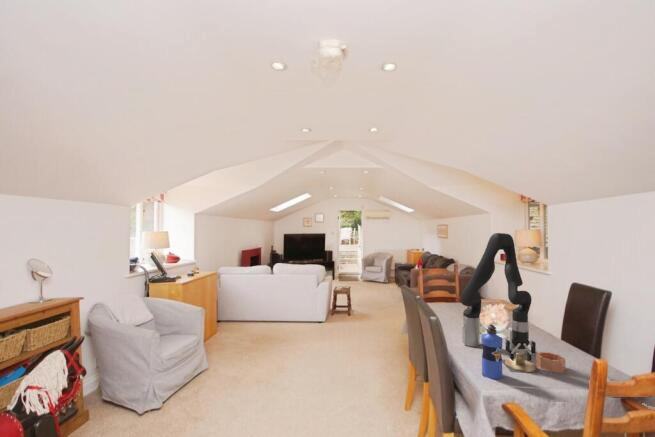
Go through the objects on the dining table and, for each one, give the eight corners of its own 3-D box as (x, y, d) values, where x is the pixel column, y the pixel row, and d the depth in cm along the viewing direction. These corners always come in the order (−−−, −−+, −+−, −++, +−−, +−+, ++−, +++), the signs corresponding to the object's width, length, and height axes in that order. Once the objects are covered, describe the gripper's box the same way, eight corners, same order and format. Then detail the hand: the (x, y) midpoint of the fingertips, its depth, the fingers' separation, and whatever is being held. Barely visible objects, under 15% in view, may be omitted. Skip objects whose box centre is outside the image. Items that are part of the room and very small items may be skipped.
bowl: (544, 372, 166) (543, 360, 166) (532, 362, 178) (532, 351, 178) (569, 373, 165) (569, 361, 165) (556, 363, 176) (556, 352, 176)
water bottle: (477, 373, 165) (477, 323, 166) (490, 370, 169) (490, 321, 169) (493, 381, 157) (493, 329, 157) (507, 378, 161) (506, 326, 161)
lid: (511, 371, 166) (511, 359, 166) (501, 359, 180) (500, 348, 180) (541, 373, 164) (541, 360, 164) (528, 361, 178) (528, 349, 178)
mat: (510, 372, 166) (510, 371, 166) (499, 360, 181) (499, 359, 181) (543, 374, 164) (543, 373, 164) (529, 361, 179) (529, 360, 179)
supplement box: (522, 349, 195) (522, 328, 196) (525, 354, 188) (525, 332, 188) (508, 348, 198) (508, 327, 198) (510, 352, 191) (510, 331, 191)
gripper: (508, 331, 170) (508, 362, 170) (538, 332, 168) (538, 364, 168) (502, 326, 177) (503, 356, 177) (531, 327, 175) (531, 358, 175)
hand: (520, 360), depth 172 cm, fingers open, 7 cm apart
